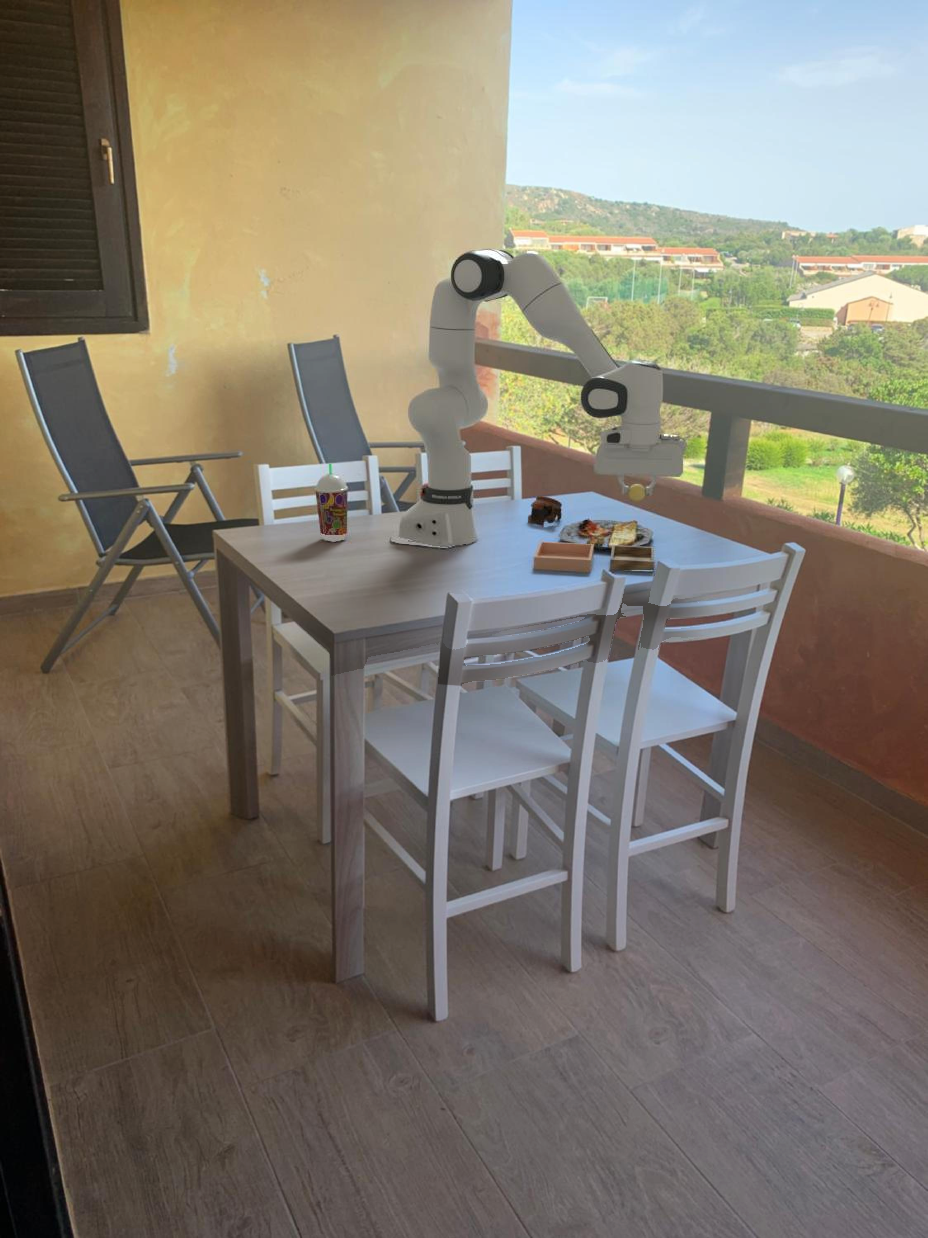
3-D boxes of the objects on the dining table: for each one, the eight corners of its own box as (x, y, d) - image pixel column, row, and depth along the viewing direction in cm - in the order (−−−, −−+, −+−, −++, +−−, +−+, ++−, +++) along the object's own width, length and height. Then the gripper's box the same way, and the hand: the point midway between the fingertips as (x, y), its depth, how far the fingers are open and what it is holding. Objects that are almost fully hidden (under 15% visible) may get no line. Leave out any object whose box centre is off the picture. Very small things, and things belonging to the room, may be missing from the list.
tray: (609, 569, 213) (610, 559, 212) (611, 555, 224) (612, 545, 223) (653, 572, 212) (654, 561, 211) (653, 557, 223) (653, 547, 222)
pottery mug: (519, 522, 256) (527, 495, 257) (546, 534, 260) (555, 506, 261) (541, 521, 245) (550, 492, 246) (569, 533, 249) (577, 505, 250)
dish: (533, 569, 214) (533, 556, 213) (539, 553, 226) (540, 541, 225) (590, 572, 212) (590, 559, 211) (593, 555, 224) (593, 544, 223)
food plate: (571, 523, 252) (572, 511, 251) (656, 531, 245) (657, 518, 244) (551, 551, 230) (552, 537, 229) (644, 560, 224) (645, 546, 222)
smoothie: (336, 545, 233) (332, 467, 226) (311, 541, 237) (306, 464, 230) (356, 537, 240) (353, 462, 232) (332, 533, 244) (327, 458, 237)
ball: (627, 502, 211) (628, 485, 210) (627, 498, 215) (628, 481, 213) (645, 503, 210) (646, 486, 209) (645, 499, 214) (646, 482, 212)
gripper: (686, 433, 208) (682, 492, 213) (596, 431, 212) (593, 489, 217) (687, 437, 202) (683, 499, 207) (594, 435, 206) (592, 495, 211)
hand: (636, 494), depth 212 cm, fingers closed on ball, 4 cm apart
